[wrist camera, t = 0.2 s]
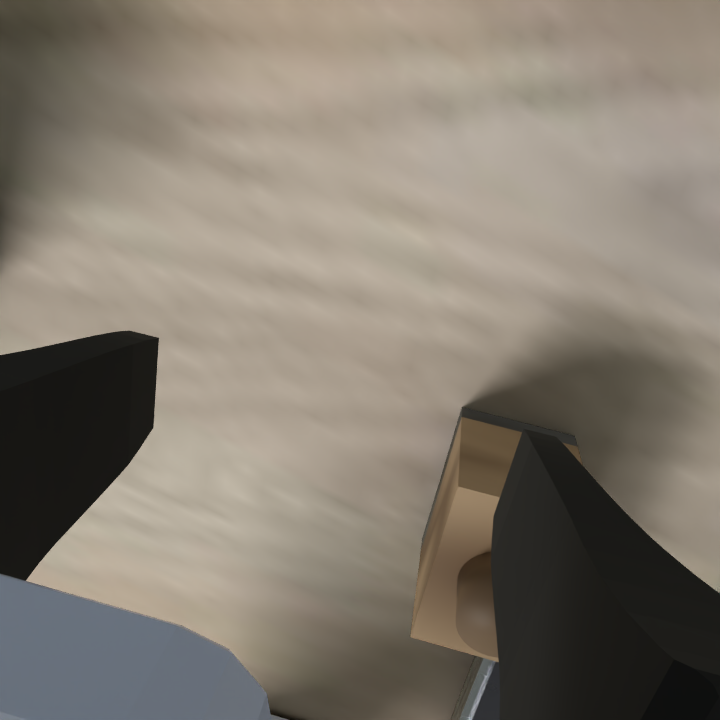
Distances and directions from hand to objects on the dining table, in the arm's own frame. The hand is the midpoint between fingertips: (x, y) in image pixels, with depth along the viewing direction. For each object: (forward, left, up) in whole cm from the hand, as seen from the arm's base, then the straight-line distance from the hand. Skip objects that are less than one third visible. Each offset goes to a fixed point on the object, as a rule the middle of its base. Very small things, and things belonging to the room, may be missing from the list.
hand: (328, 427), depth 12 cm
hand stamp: (-7, -5, -10) cm, 13 cm away
